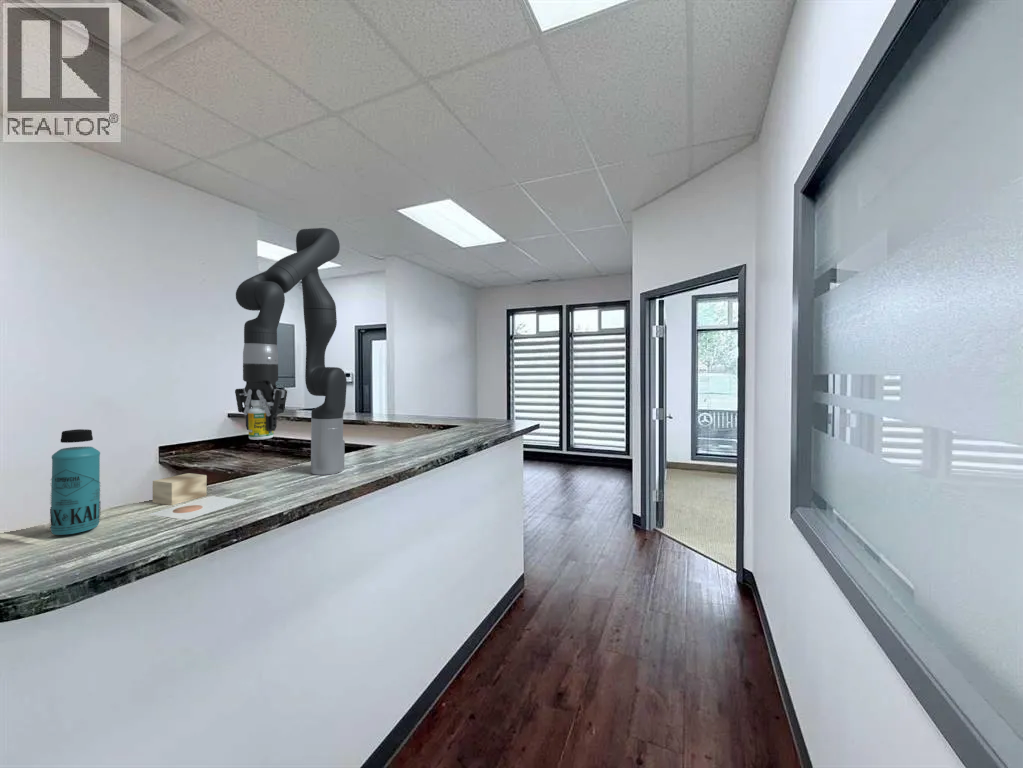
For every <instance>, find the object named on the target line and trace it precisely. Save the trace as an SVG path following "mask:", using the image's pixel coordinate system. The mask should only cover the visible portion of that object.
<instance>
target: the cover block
mask: <svg viewBox="0 0 1023 768" xmlns="http://www.w3.org/2000/svg"><path fill="white" fill-rule="evenodd" d="M207 478H208V476H207V474H202V473H201V474H199V473H192V472H191V473H189V472H188V473H183V474H178V475H174V476H169V477H165V478H159V479H154V480H152V503H155V504H161V505H166V506H167V505H168V506H173V505H178V504H180V503H182V504H183V503H185V502H188V501H189V502H190V501H192V500H196V499H199V498H200V499H201V498H202V497H203V498H204V497H206V496H207V495H208V493H207V490H208V489H207V486H208V485H207V482H208V480H207ZM207 497H208V496H207Z"/></svg>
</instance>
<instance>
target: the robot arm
mask: <svg viewBox="0 0 1023 768" xmlns="http://www.w3.org/2000/svg"><path fill="white" fill-rule="evenodd" d="M295 247H296V248H295V249H296V252H294V253H291V254H288V255H287V256H284V257H282V258H280V259H279V260H277V261H276V262H275V263H274V264H272V265H271V266H270V267H269V268H268V269H266V270H265V271H263V272H260V273H258V274H255V275H253V276H250V277H248V278H247V279H245V280H244V281H242V282H240V284H239V285H238V286H237V288H236V291H235V300H236V302H237V304H238V305H239V306H240V307H241V308H243V309H245V310H246V311H247V310H248V311H255V312H256V311H257V312H258V311H259V312H258V315H257V317H255V318H253V319H249V320H247V321H245V323H244V325H243V349H242V380H243V381H244V382H246V383H245V386H244V388H236V389H234V393H235V400H236V405H237V411H238V413H243V415H244V416H245V428H246V430H247V431H249V426H248V411H249V409H251V408H253V406H252V405H251V400H260V402H261V405H262V407H263V408H264V409H265V412H266V415H267V416H266V431H274V432H275V431H276V428H277V423H278V422H277V418H278V417H277V416H278V415H281V414H283V413H284V412H285V409H286V408H285V407H286V402H287V397H288V390H287V389H279V388H278V386H277V384H276V383H277V382H278V381H279V351H278V327H279V323H280V320H281V317H282V313H283V310H284V306H285V302H286V298H285V294H287V293H288V292H290V291H291V290H292V289H293V288H294V287H295V286H296V285H298V283H300V282H301V291H302V306H303V321H304V330H305V369H304V371H305V372H304V373H305V375H304V379H305V387H306V390H307V391H308V393H309V394H310V395H312V396H316V397H324V402H323V403H322V404H321V405H319V406H317V407H314V408H313V409H311V415H310V416H311V417H310V418H311V421H310V422H311V424H310V425H311V428H310V433H311V434H310V439H311V440H310V473H311V474H312V475H320V476H321V475H322V476H324V475H325V476H326V475H333V474H339V473H341V472H343V470H345V448H346V447H345V446H346V445H345V439H344V411H345V408H346V399H347V387H348V385H347V383H348V382H347V375H346V373H345V371H344V370H343V369H342V367H341V368H340V367H335V366H334V367H333V366H326V363H325V362H326V360H325V359H326V350H327V347H328V345H329V343H330V341H331V339H332V337H333V335H334V333H335V331H336V328H337V325H338V324H337V322H338V320H337V319H338V318H337V306H336V302H335V299H334V298H333V296H332V294H331V293H330V292H329V290H328V289H327V287H326V286H325V284H324V283H323V282H322V279H321V277H320V273H319V267H321V266H323V265H324V264H326V263H328V262H330V261H332V260H333V259H335V258H336V257H337V256H338V255H339V253H340V248H341V245H340V239H339V237H338V235H337V234H336V232H335V231H333V230H332V229H330V228H325V227H319V228H318V227H315V228H314V227H313V228H312V227H311V228H301V229H299V230H298V232H297V234H296V237H295ZM267 402H270V403H267ZM243 404H244V405H243ZM270 408H271V409H270ZM338 472H339V473H338Z"/></svg>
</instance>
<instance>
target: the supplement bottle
mask: <svg viewBox="0 0 1023 768" xmlns="http://www.w3.org/2000/svg"><path fill="white" fill-rule="evenodd" d="M267 403H271V402H267ZM251 405H252V406H253V408H252V407H251V409H249V411H248V426H249V430H248V439H249V440H254V441H255V440H257V441H259V440H269V439H272V438H273V437H274V435H275V434H274V432H275V431H266V416H267V415H266V412H265V409H264V408H263V407H262V405H261V402H260V400H251ZM270 409H271V408H270Z"/></svg>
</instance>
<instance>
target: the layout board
mask: <svg viewBox="0 0 1023 768" xmlns="http://www.w3.org/2000/svg"><path fill="white" fill-rule="evenodd" d="M247 501H248V499H247V500H246V499H240V498H232V497H231V498H230V497H221V496H214V495H210V496H207V497H206V496H205V497H203V498H200V499H199V498H198V499H197V500H196V499H195V500H193V501H192V500H191V501H189V502H186V503H185V502H184V504H183V503H182V504H179V505H178V504H177V505H176V506H172V507H169V508H165V509H161V510H159V511H154V512H151V513H148V515H149V516H157V517H163V518H164V517H165V518H171V519H180V520H186V521H188V520H191V519H194V518H198V517H201V516H204V515H207V514H210V513H213V512H217V511H219V510H222V509H224V508H227V507H231V506H235V505H237V504H240V503H243V502H247Z"/></svg>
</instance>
